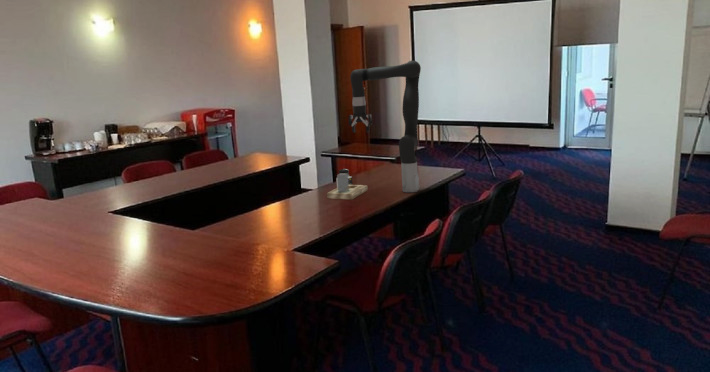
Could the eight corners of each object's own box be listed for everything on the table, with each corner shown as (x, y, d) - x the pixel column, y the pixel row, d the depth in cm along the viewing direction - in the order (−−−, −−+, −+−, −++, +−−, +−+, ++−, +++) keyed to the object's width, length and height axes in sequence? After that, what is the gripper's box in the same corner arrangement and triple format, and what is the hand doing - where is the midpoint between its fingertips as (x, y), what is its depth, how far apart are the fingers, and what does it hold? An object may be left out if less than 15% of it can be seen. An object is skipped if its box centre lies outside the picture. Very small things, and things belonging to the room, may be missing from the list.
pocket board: (367, 191, 339) (367, 184, 338) (352, 201, 320) (352, 193, 319) (343, 190, 346) (343, 184, 345) (327, 199, 326) (326, 192, 325)
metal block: (348, 190, 328) (347, 173, 326) (345, 192, 324) (344, 175, 322) (341, 189, 330) (340, 173, 328) (338, 191, 326) (337, 174, 324)
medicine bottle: (345, 190, 347) (344, 171, 344) (336, 189, 351) (335, 170, 348) (352, 187, 352) (351, 168, 350) (344, 186, 357) (342, 168, 354)
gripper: (373, 103, 326) (374, 131, 330) (350, 104, 332) (352, 131, 336) (368, 105, 320) (369, 133, 323) (345, 105, 326) (347, 133, 329)
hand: (361, 132), depth 330 cm, fingers open, 8 cm apart
